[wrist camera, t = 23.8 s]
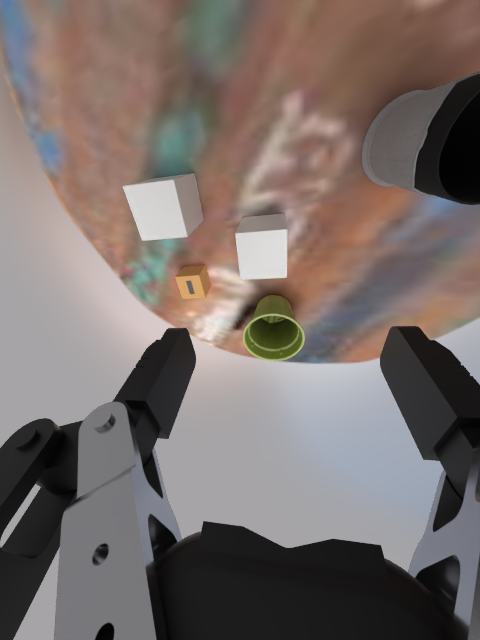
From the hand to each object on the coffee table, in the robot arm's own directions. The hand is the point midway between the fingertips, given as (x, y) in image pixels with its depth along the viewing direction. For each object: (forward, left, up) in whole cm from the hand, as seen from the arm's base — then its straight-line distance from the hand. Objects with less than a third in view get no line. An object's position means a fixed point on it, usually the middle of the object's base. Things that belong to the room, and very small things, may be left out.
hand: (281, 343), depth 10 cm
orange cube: (+10, -14, -28) cm, 33 cm away
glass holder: (-5, +17, -28) cm, 33 cm away
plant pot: (+17, -1, -28) cm, 33 cm away
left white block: (-2, -14, -28) cm, 31 cm away
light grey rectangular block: (+4, -2, -28) cm, 28 cm away
